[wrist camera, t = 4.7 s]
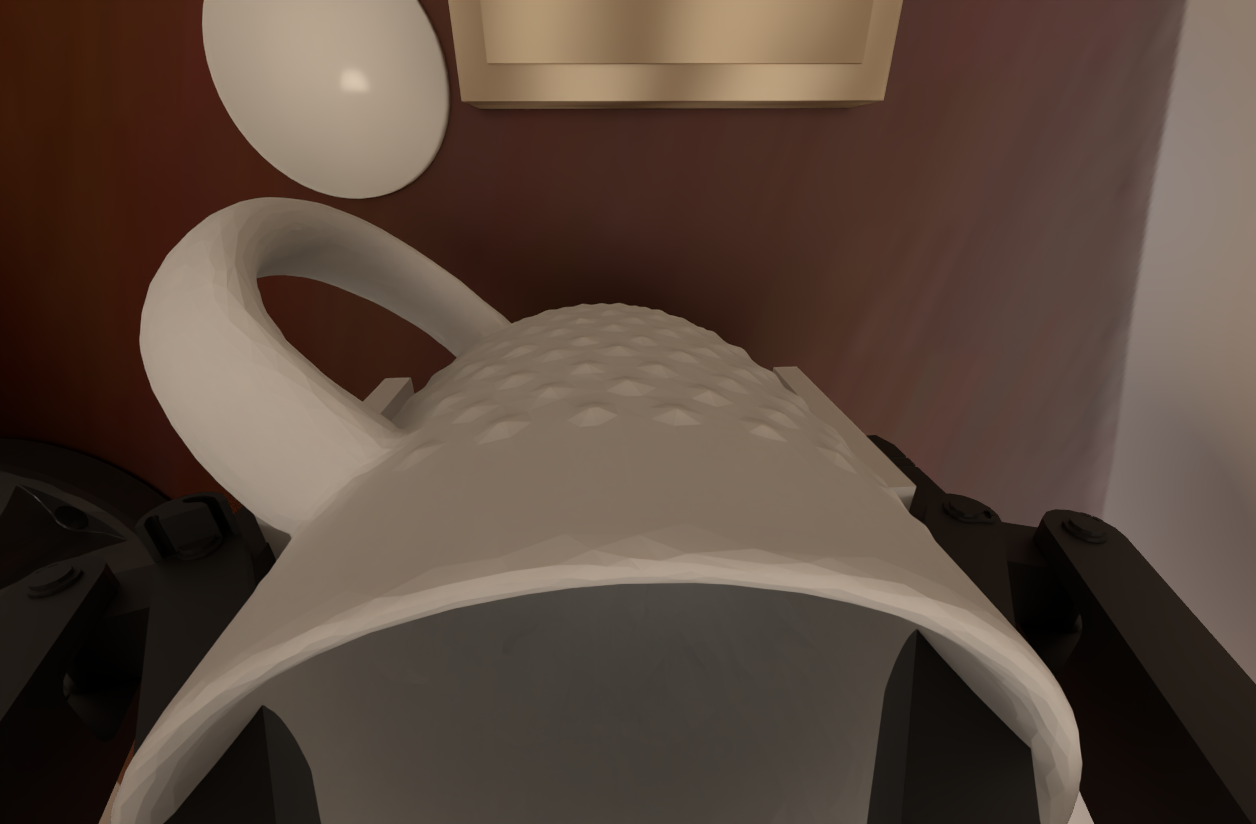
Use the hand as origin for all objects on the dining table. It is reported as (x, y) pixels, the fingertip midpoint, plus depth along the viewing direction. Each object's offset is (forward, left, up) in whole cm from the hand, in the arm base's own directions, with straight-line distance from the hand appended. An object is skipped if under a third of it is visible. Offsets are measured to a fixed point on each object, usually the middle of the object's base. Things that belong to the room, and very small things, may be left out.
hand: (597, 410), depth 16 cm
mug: (-1, 0, -2) cm, 2 cm away
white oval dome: (-9, +10, -8) cm, 16 cm away
